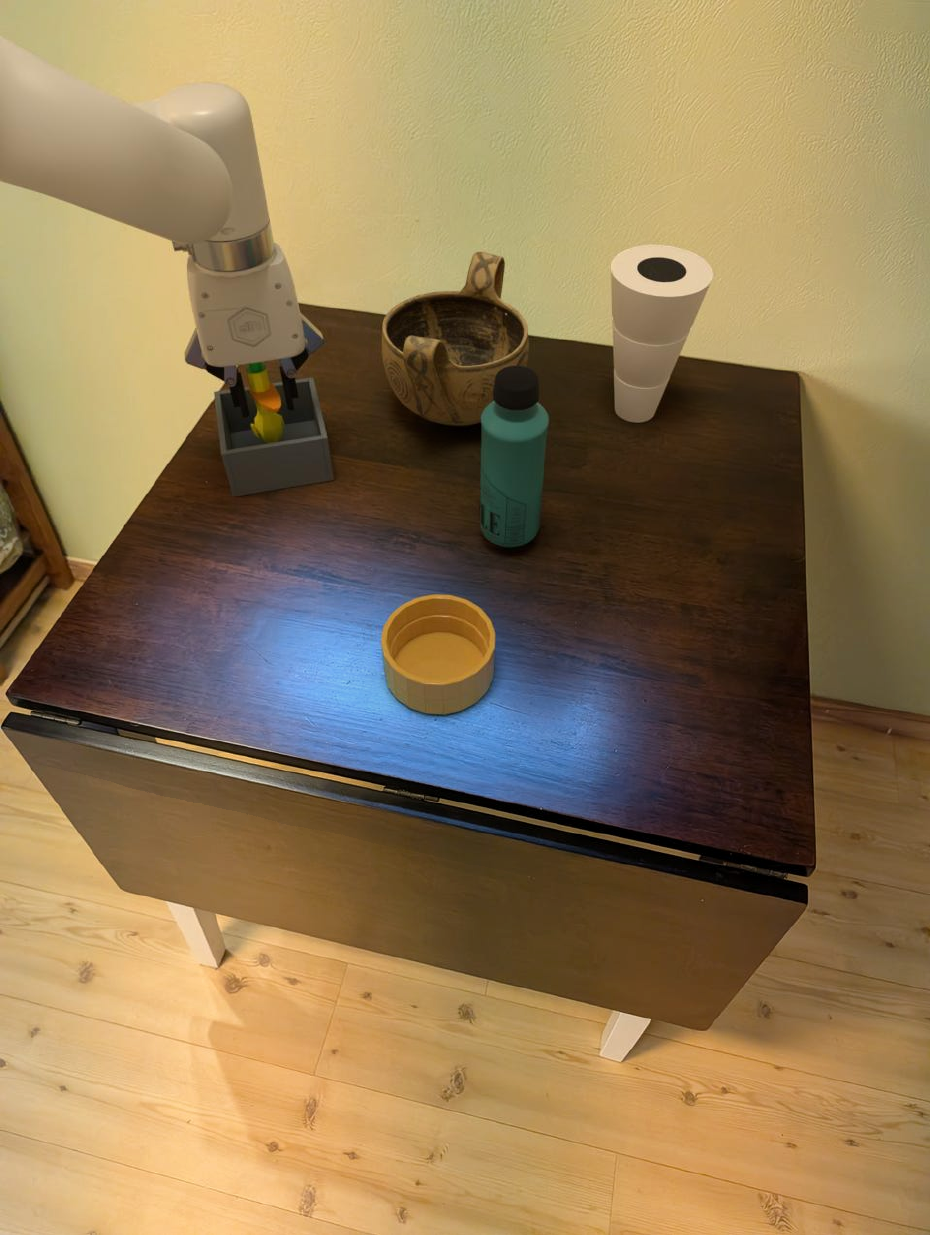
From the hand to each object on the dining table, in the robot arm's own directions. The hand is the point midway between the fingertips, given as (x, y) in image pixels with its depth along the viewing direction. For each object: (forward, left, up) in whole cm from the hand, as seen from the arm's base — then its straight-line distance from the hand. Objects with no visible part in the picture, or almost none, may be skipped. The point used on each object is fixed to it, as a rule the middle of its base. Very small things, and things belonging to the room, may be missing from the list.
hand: (267, 405), depth 91 cm
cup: (+43, -2, -7) cm, 44 cm away
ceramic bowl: (+22, +4, -7) cm, 24 cm away
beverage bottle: (+22, -19, -7) cm, 30 cm away
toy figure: (0, 0, -7) cm, 7 cm away
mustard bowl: (+11, -34, -7) cm, 36 cm away
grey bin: (0, 0, -7) cm, 7 cm away
